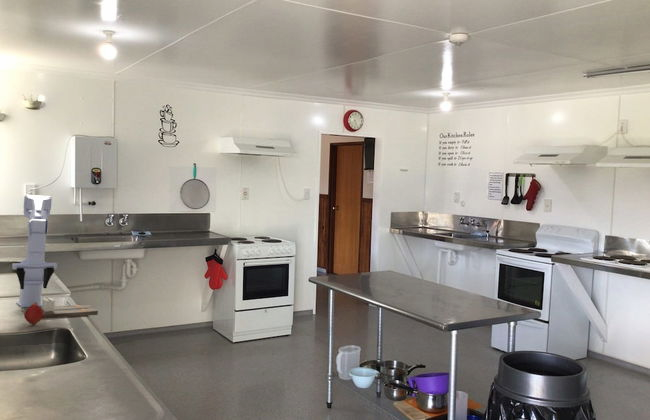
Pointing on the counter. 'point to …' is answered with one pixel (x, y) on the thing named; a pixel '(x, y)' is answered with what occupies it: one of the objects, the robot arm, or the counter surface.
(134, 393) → the counter surface
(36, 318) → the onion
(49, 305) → the fader knob
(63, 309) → the fader console
